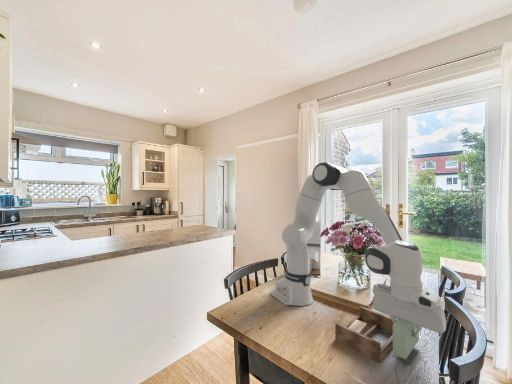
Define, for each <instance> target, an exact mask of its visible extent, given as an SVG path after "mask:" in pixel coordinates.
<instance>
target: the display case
mask: <svg viewBox="0 0 512 384" xmlns="http://www.w3.org/2000/svg"><path fill="white" fill-rule="evenodd" d="M307 249H308V254H309V256H310V272H311V276H320V277H321V220H316V221H315V226H314V230H313V234H312V237H311V238H310V239H309V240H308V241H307Z"/></svg>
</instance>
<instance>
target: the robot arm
mask: <svg viewBox="0 0 512 384" xmlns="http://www.w3.org/2000/svg"><path fill="white" fill-rule="evenodd" d="M328 190H331V191H342V194H343V197H344V199H345V203H346V205H347V208H348V210H349V211H350V213H352V214H353V215H355V216H356V217H359V218H362V219H363V220H364V219H365V220H367V221H369V222H371V223H372V224H373V225H374V226H376V228H377V229H378V232H379V234H380V235H381V237H382V240H383V242H384V244H385V245H379V246H373V247H370V248H368V249H367V250H366V252H365V254H364V261H365V264H366V265H365V266H367V268H368V269H369V271H371V272H372V273H373V274H377V275H378V274H379V275H383V276H385V275H387V276H389V278H390V280H389V285H385V284H381V283H375V284H374V285H373V286H372V290H373V293H374V297H373V304H372V307H373V309H374V310H375V311H376V312H377V311H378V312H379V313H381V314H384V315H385V314H386V315H387V316H390V317H391V320H392V322H393V323H395V322H396V321H397V320H398V319H402V320H404V321H407V322H410V323H412V324H415V325H416V328H418V329H417V330H414V329H413V331H412V337H415V338H418V336H419V337H420V331H421V330H422V329H423V328H424V329H427V330H429V331H432V332H435V333H436V334H437V333H438V334H443V333H445V332H446V329H447V319H446V314H445V310H444V308H443V307H442V305H441V300H442V298H441V296H439V295H438V294H436V293H434V292H432V291H431V290H429V289H426V287H423V282H422V278H421V277H422V274H423V259H422V254H421V250H420V248H419V247H418V246H417V245H416V244H414V243H412V242H410V241H405V240H403V239H402V237H401V235H400V233H399V231H398V230H397V227H396V226H395V222H393V220H392V218H391V216H390V214H389V213H388V211H387V210H386V209H385V208H384V206H383V205H382V204H381V203H380V202H379V200H378V198H377V197H376V194H375V192H374V190H373V188H372V185H371V183H370V181H369V179H368V177H367V176H366V174H365V172H363V171H362V170H359V169H350V170H348V169H347V168H345V167H343V166H341V165H339V164H333V163H331V162H324V161H323V162H320V163H317V164H316V165H315V166H314V168H313V170H312V173H311V174H310V175H308V176H307V177H306V179H305V181H304V182H303V185H302V188H301V189H300V192H299V195H298V199H297V201H296V205H295V207H294V208H295V214H294V220H293V222H292V223H289V224H287V225H286V226H285V227H284V229H283V231H282V233H281V238H282V241H283V242H284V245H285V250H286V254H287V269H286V270H284V271H283V274H284V276H283V277H281V278H280V279H279V280H277V281H276V282H275V283H274V284H275V285H274V288H273V289H272V290H271V291H270V293H269V294H270V295H271V296H273V297H274V298H275V299H277V300H278V301H279V302H281V303H282V304H284V305H285V306H295V307H296V306H300V307H305V306H308V305H309V306H310V305H311V304H313V302H314V298H313V294H312V289H311V280H312V279H311V272H310V256H309V254H308V249H307V241H308V240H309V239H310V238H311V237H312V234H313V230H314V226H315V221H317V216H318V213H319V210H320V207H321V204H322V201H323V199H324V195H325V192H326V191H328Z"/></svg>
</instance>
